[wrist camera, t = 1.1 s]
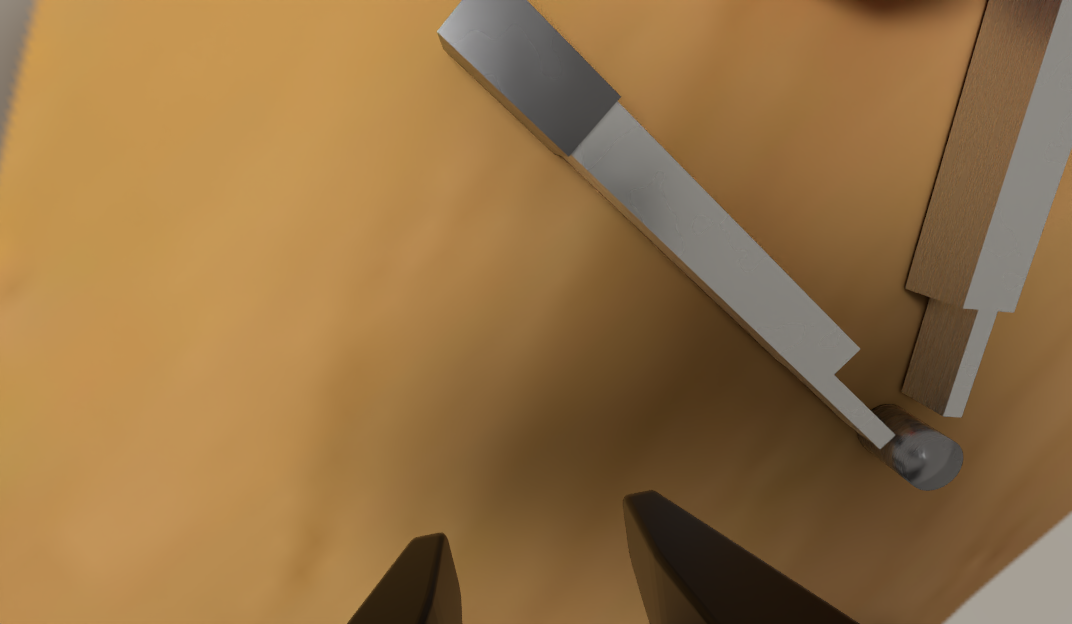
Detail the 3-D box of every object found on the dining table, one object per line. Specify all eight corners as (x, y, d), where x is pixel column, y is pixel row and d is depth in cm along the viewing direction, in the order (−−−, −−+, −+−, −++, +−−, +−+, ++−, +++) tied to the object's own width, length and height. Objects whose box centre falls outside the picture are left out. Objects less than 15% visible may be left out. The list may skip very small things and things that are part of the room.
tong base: (899, 452, 22) (958, 495, 20) (852, 450, 22) (905, 493, 19) (1111, -224, 16) (1239, -297, 14) (1050, -237, 16) (1167, -314, 13)
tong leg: (881, 386, 21) (937, 421, 19) (841, 424, 21) (890, 463, 19) (488, -9, 16) (490, -37, 14) (443, 48, 16) (436, 31, 14)
